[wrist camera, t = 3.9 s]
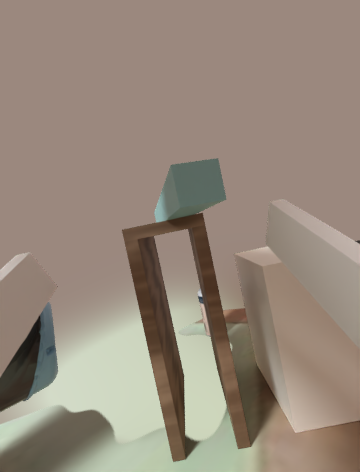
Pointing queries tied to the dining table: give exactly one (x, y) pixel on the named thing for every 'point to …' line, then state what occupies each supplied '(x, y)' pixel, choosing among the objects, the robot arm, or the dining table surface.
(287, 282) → the pillar
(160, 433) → the dining table surface
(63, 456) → the dining table surface
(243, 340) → the dining table surface
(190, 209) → the bar
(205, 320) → the beer can
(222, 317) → the tall wooden grooved block
